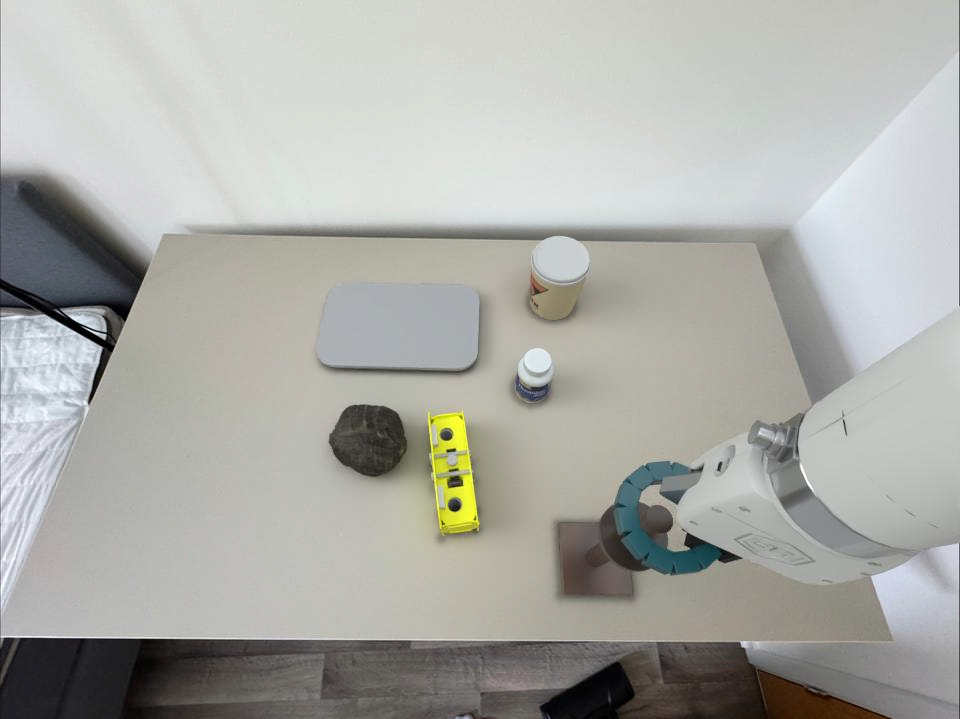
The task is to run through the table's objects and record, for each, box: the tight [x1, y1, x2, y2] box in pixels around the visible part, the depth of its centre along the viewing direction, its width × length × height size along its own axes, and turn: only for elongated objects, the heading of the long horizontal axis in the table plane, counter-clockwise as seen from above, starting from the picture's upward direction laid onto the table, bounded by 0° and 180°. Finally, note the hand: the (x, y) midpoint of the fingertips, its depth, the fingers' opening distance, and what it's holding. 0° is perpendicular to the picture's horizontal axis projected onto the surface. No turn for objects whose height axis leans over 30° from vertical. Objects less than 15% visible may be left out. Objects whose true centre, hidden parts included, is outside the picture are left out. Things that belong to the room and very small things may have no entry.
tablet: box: [315, 281, 481, 372], centre depth 84 cm, size 16×26×2 cm, turn 88°
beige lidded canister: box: [529, 235, 592, 321], centre depth 82 cm, size 9×9×12 cm
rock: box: [328, 403, 408, 478], centre depth 71 cm, size 10×11×10 cm
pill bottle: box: [514, 347, 555, 404], centre depth 75 cm, size 5×5×10 cm
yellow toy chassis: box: [427, 409, 481, 537], centre depth 69 cm, size 16×6×8 cm, turn 8°
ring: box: [612, 460, 723, 577], centre depth 41 cm, size 9×9×2 cm
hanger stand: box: [557, 501, 674, 597], centre depth 55 cm, size 9×9×28 cm
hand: (707, 536), depth 41 cm, fingers closed on ring, 2 cm apart
